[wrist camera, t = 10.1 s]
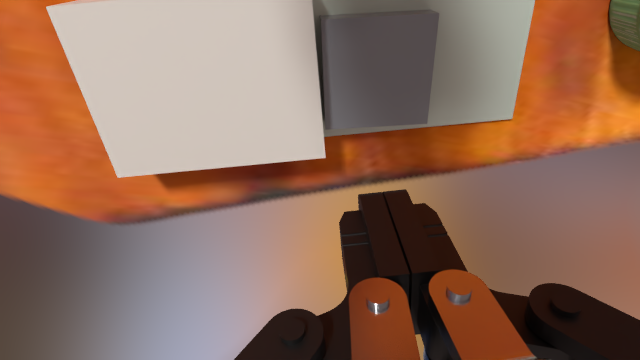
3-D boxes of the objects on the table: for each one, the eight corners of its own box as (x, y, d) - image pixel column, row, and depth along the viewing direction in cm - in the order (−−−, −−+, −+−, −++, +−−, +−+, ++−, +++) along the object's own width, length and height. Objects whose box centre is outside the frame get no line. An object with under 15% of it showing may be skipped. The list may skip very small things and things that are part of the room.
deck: (309, -23, 26) (310, -19, 22) (323, 136, 32) (325, 157, 29) (79, 0, 26) (45, 6, 23) (137, 153, 32) (117, 177, 29)
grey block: (430, 9, 27) (439, 12, 25) (420, 114, 31) (427, 123, 29) (319, 15, 27) (321, 19, 25) (324, 120, 31) (325, 129, 29)
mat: (541, -47, 26) (544, -47, 26) (510, 117, 32) (512, 118, 32) (309, -24, 26) (309, -24, 26) (323, 135, 32) (323, 136, 32)
